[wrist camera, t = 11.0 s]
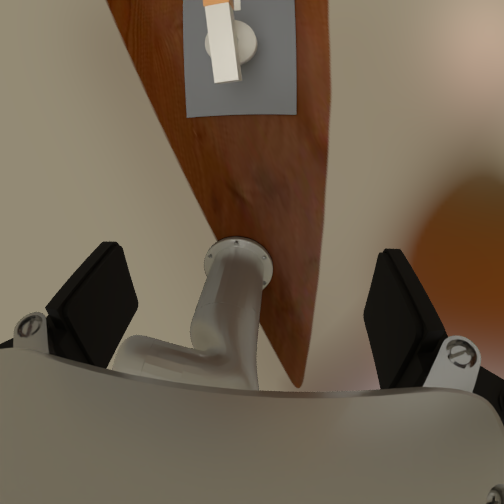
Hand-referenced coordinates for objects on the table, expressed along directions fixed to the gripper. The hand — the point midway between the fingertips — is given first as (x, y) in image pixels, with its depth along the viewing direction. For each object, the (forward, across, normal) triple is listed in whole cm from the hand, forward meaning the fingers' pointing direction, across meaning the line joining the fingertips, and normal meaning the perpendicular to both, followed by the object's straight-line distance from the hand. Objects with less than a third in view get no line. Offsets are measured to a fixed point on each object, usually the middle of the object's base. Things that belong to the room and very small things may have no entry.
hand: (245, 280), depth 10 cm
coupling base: (+36, +4, -13) cm, 39 cm away
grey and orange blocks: (+30, +5, -13) cm, 33 cm away
